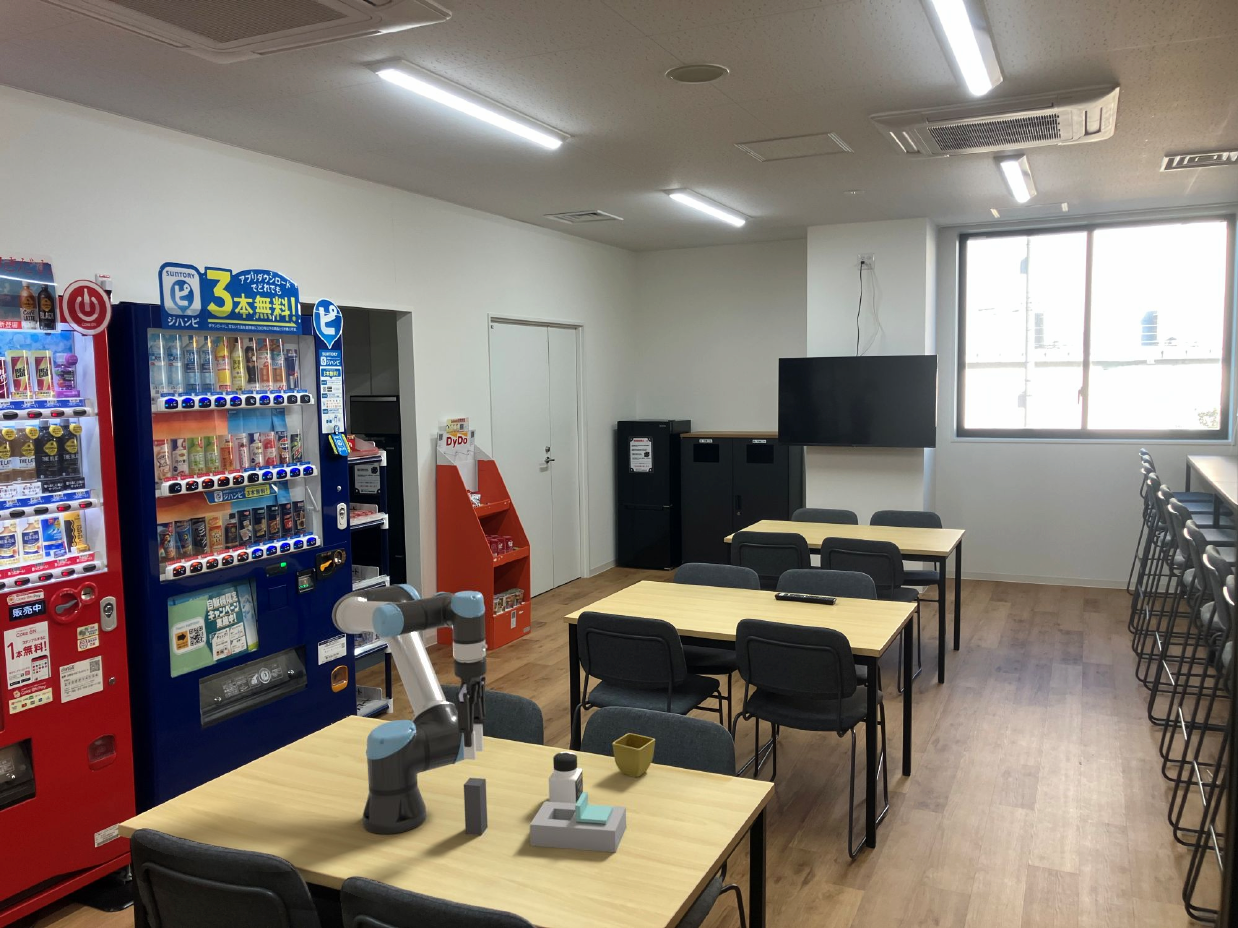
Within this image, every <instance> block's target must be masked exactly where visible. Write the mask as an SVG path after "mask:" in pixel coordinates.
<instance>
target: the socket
mask: <svg viewBox="0 0 1238 928" xmlns="http://www.w3.org/2000/svg"><path fill="white" fill-rule="evenodd" d="M575 805H576V804H575V803H561V802H549V801H543V804H541V807H540V808H539V809H538V811H537V813H536V814H535V816H534V817H533V819H532V821H530V824H529V840H530V846H533V847H545V848H557V849H568V850H585V851H593V852H595V851H597V852H607V853H608V852H609V853H616V852H617V850H618V847H619V845H620V844H621V840H622V838H623V836H624V834H625V831H626V829H627V811H626V810H627V808H626V806H617V805H616V806H615V805H612V806H613V811H612V813H611V815H610V817H609V819H608V821H607V823H606V824H602V823H589V822H576V818H575ZM588 805H590V804H589V803H588ZM600 805H601V804H600ZM601 806H605V805H604V804H603V805H601Z"/></svg>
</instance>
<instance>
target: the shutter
mask: <svg viewBox="0 0 1238 928" xmlns="http://www.w3.org/2000/svg"><path fill="white" fill-rule="evenodd" d="M588 794H589V793H588V792H587V791H583V793H582V794H581V796H580V798H579V800H578V801H577V803H576V805H575V818H576V822H589V823H602V824H606V823H607V821H608V819H609V817H610V815H611V813H612V811H613V806H614V805H604V806H601V804H589V795H588ZM588 804H589V805H588Z"/></svg>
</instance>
